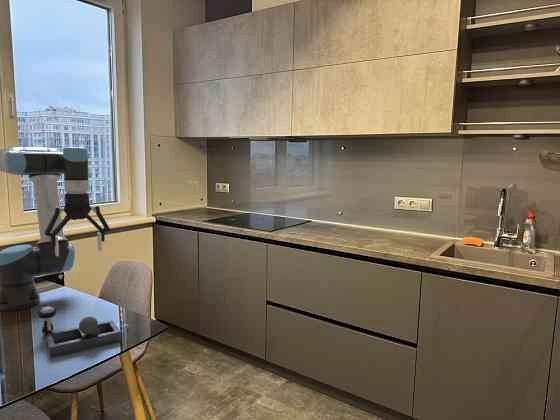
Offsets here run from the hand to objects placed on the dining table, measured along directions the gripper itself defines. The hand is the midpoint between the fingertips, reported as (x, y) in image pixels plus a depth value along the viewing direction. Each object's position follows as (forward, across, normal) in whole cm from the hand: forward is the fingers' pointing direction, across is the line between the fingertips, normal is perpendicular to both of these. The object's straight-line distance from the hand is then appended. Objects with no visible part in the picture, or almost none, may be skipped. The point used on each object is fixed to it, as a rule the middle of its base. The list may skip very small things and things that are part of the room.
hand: (79, 253), depth 141 cm
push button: (+27, -11, -3) cm, 29 cm away
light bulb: (+26, +3, -15) cm, 30 cm away
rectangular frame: (+27, -2, -14) cm, 30 cm away
